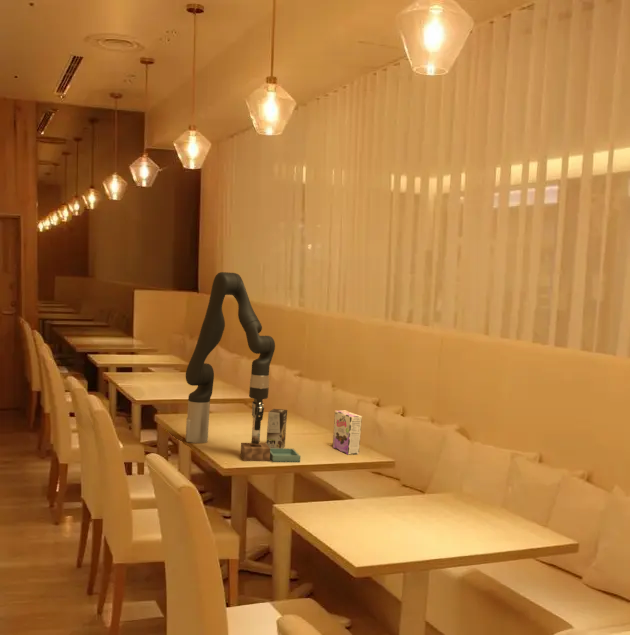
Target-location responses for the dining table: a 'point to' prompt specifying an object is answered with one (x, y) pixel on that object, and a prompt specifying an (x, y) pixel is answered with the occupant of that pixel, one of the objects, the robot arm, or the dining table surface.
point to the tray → (284, 455)
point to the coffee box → (276, 428)
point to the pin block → (255, 452)
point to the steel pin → (255, 434)
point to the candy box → (347, 432)
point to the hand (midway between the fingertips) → (256, 428)
